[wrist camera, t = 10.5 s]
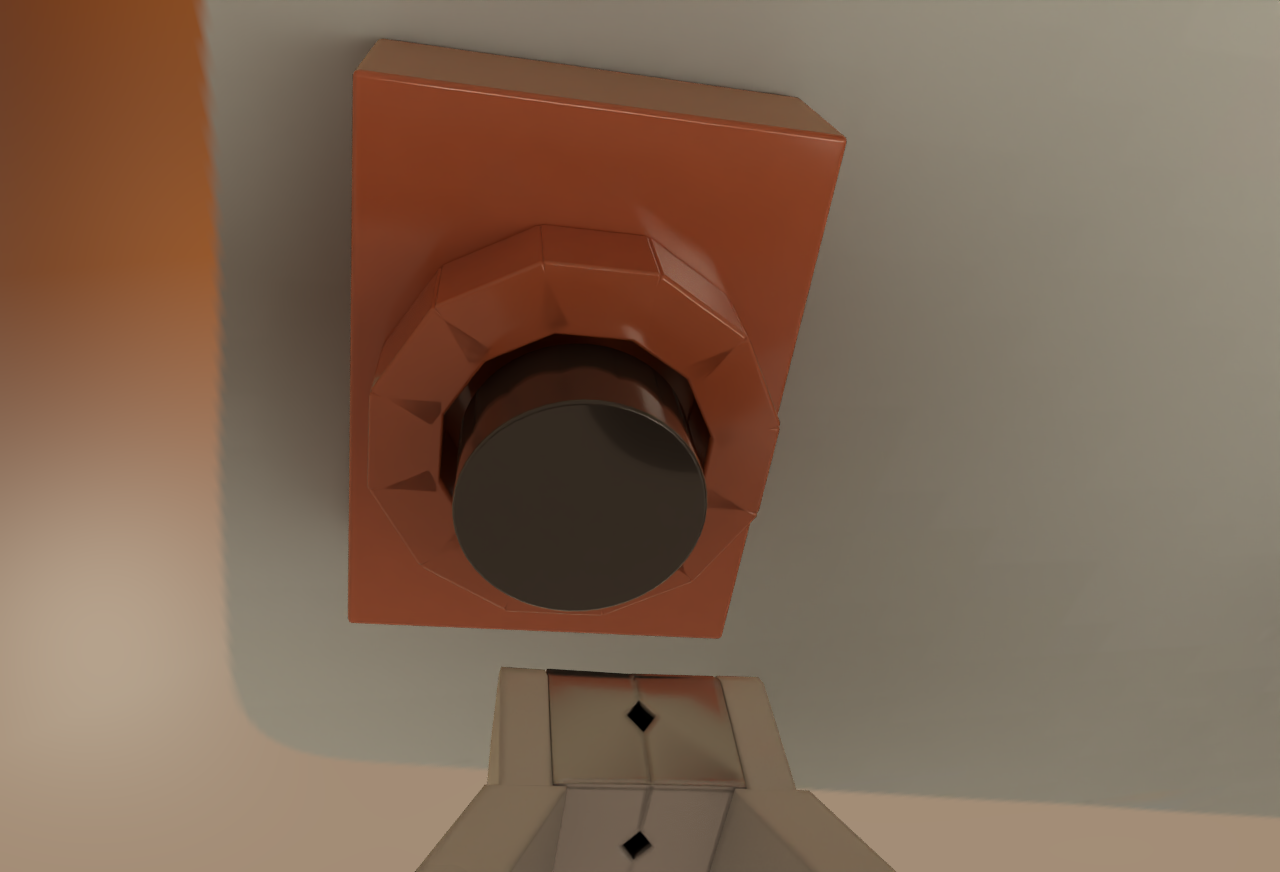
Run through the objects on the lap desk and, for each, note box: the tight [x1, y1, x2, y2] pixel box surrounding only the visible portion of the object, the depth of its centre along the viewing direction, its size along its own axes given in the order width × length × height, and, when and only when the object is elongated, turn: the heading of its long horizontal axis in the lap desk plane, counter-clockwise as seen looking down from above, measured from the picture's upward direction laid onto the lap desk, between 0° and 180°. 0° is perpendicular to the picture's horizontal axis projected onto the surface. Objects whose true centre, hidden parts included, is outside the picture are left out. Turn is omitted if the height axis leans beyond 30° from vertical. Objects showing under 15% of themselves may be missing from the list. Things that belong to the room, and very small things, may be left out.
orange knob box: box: [348, 39, 847, 639], centre depth 19 cm, size 11×8×5 cm
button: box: [452, 343, 708, 611], centre depth 16 cm, size 4×4×2 cm
